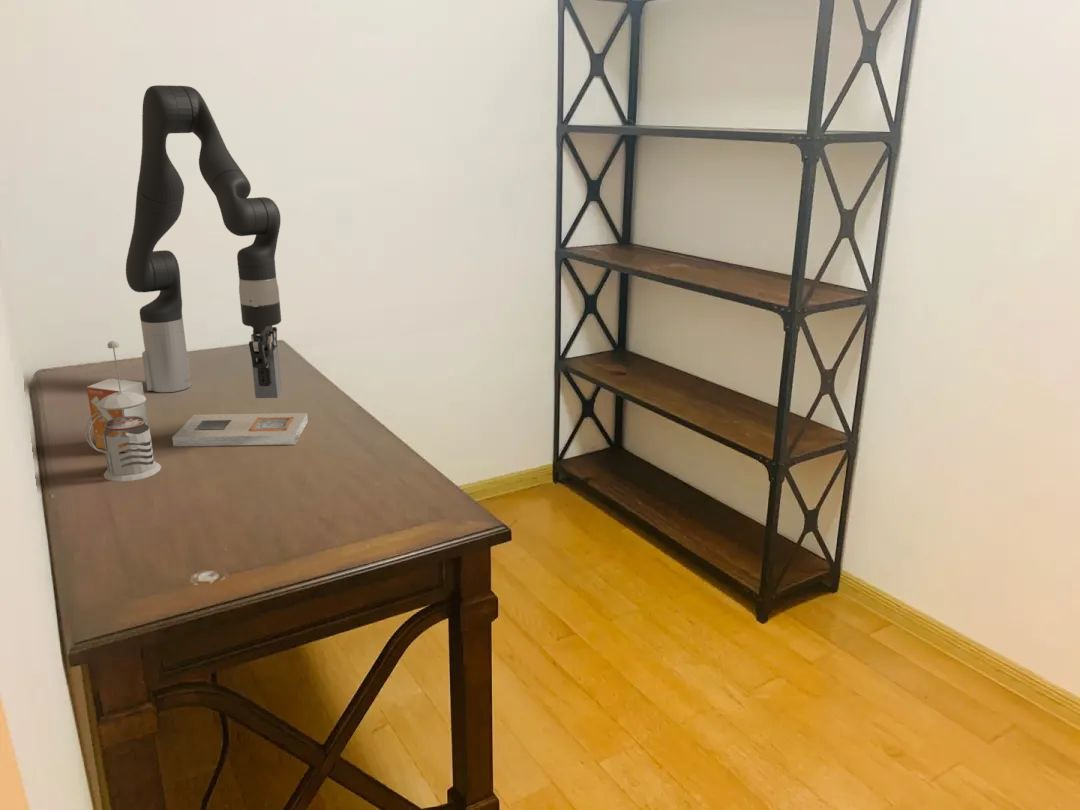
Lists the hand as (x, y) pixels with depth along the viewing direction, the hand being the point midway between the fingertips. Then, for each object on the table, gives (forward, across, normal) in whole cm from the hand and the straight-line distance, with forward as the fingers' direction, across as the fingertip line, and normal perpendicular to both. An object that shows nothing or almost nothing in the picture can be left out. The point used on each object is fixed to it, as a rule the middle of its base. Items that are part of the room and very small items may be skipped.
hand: (267, 381), depth 173 cm
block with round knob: (+3, 0, 0) cm, 3 cm away
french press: (+11, +20, -22) cm, 32 cm away
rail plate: (+11, 0, -6) cm, 13 cm away
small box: (+12, +6, -28) cm, 31 cm away
